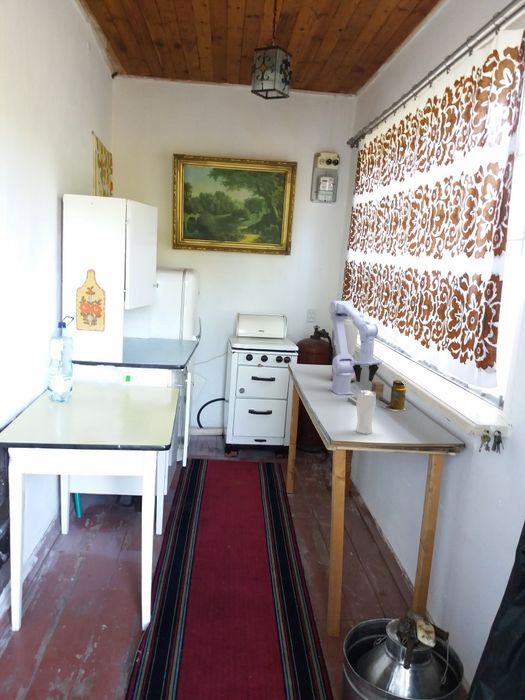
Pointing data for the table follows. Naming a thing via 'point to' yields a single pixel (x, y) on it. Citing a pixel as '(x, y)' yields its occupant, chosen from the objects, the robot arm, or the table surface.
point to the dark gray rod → (384, 400)
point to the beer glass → (365, 411)
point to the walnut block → (378, 389)
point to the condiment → (397, 396)
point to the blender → (348, 341)
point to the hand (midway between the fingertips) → (364, 381)
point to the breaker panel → (353, 400)
